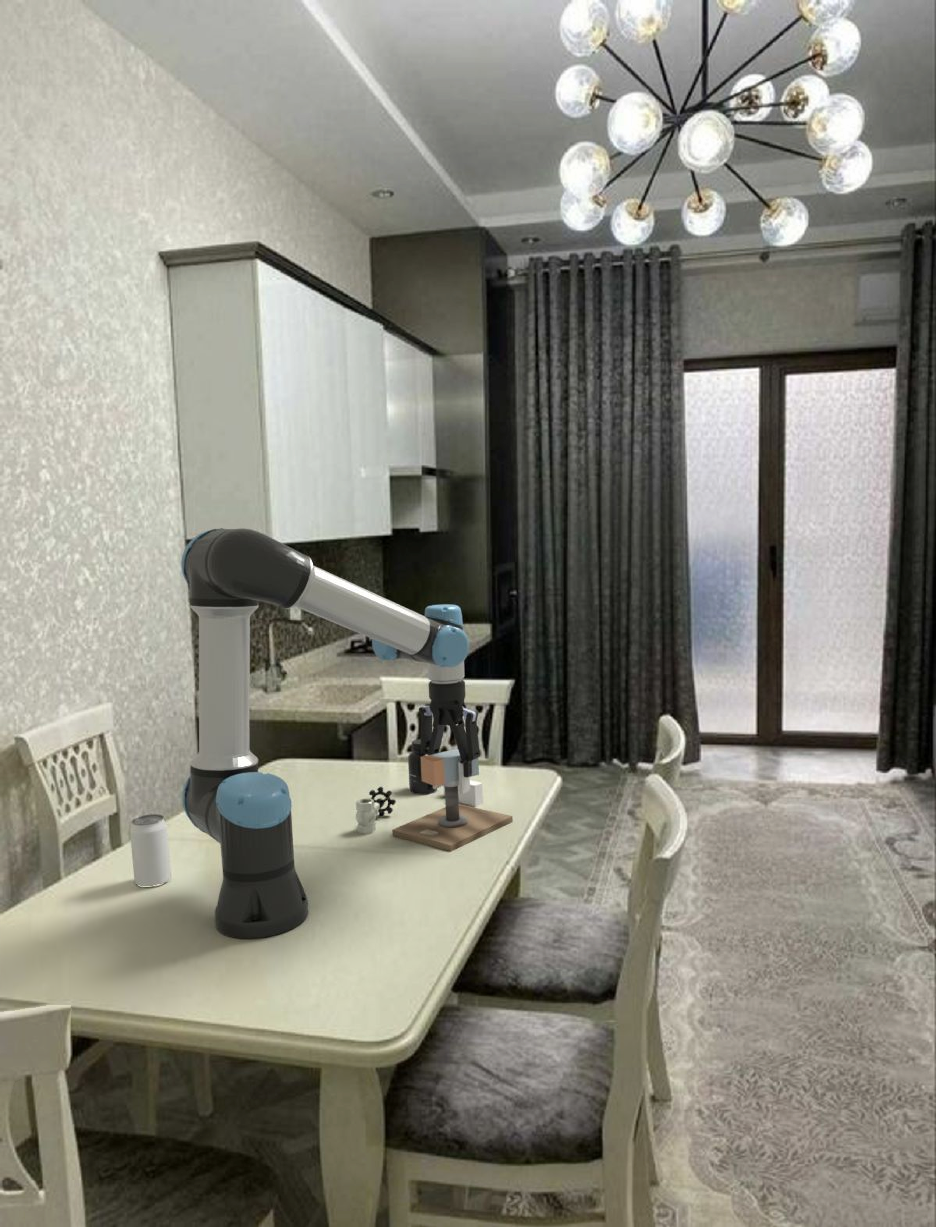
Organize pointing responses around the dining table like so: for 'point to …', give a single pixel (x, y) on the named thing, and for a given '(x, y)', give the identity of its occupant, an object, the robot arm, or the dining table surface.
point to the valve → (372, 810)
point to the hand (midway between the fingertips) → (451, 789)
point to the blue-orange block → (444, 768)
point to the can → (150, 850)
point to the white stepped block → (471, 794)
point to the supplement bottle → (417, 771)
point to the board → (452, 824)
